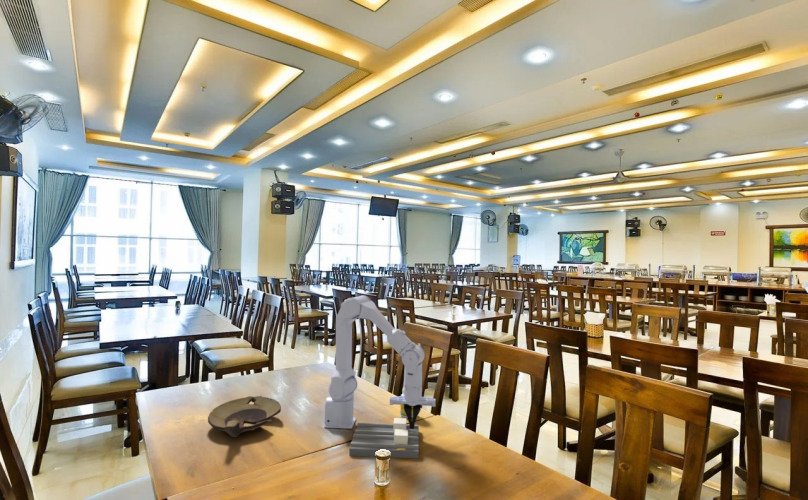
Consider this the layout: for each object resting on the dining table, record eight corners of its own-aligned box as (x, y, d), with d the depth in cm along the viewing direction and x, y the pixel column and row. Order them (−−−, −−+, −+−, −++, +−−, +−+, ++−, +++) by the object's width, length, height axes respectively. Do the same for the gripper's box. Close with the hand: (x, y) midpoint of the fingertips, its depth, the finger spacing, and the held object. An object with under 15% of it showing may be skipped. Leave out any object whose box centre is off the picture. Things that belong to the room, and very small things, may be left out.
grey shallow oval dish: (293, 414, 142) (294, 393, 142) (238, 455, 113) (239, 429, 113) (240, 406, 148) (240, 386, 148) (174, 444, 119) (175, 418, 119)
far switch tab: (393, 432, 125) (393, 423, 125) (394, 427, 129) (394, 417, 129) (405, 433, 124) (406, 423, 124) (406, 427, 128) (406, 418, 128)
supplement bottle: (409, 411, 147) (410, 385, 147) (417, 416, 143) (418, 389, 143) (397, 414, 144) (397, 387, 144) (405, 419, 140) (406, 392, 140)
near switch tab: (393, 445, 117) (394, 435, 117) (394, 438, 121) (394, 429, 121) (407, 446, 116) (407, 435, 116) (407, 439, 120) (408, 429, 120)
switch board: (349, 455, 115) (349, 445, 115) (358, 428, 132) (358, 420, 132) (418, 458, 114) (418, 448, 114) (418, 431, 131) (418, 422, 131)
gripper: (389, 388, 123) (388, 432, 123) (436, 390, 122) (435, 434, 122) (390, 381, 130) (389, 422, 130) (435, 382, 129) (434, 424, 129)
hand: (411, 427), depth 126 cm, fingers closed
